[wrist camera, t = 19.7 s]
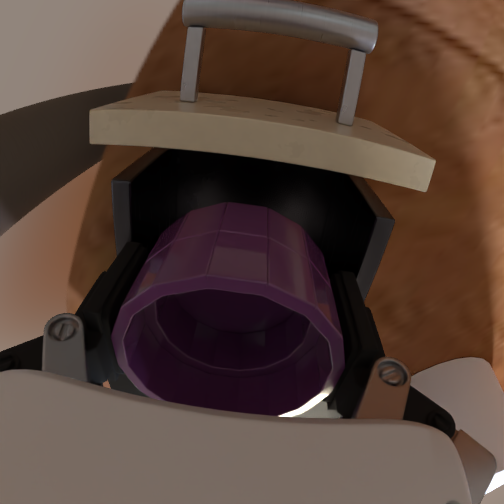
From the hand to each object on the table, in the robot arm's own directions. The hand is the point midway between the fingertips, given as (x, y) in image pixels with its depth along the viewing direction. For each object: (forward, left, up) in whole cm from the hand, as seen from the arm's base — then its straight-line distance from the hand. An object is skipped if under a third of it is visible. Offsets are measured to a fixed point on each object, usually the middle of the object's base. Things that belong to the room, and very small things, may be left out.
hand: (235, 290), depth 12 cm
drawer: (0, +2, -8) cm, 8 cm away
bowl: (0, 0, -1) cm, 1 cm away
